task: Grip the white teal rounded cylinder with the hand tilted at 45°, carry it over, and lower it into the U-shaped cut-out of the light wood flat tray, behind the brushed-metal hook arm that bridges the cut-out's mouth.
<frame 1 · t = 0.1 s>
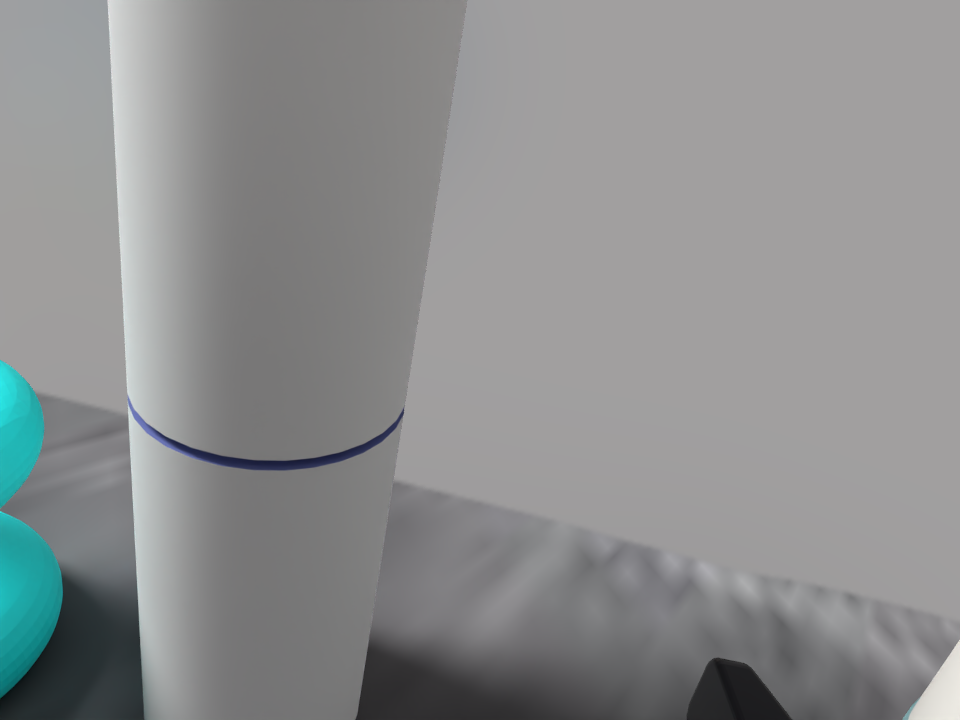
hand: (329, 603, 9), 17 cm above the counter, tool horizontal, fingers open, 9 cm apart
cylindrical container: (256, 699, 26), on the counter
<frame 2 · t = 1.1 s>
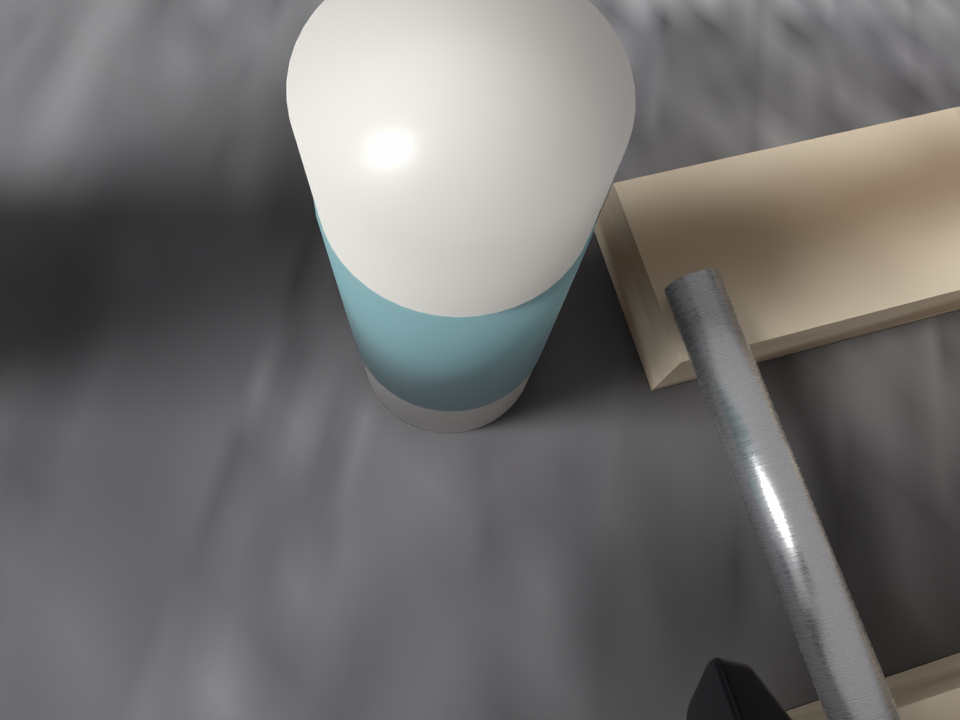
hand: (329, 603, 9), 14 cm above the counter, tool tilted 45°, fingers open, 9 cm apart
light wood flat tray: (909, 483, 23), on the counter
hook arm: (786, 524, 19), on the light wood flat tray, point 3 cm above the counter
white teal rounded cylinder: (448, 350, 24), on the counter
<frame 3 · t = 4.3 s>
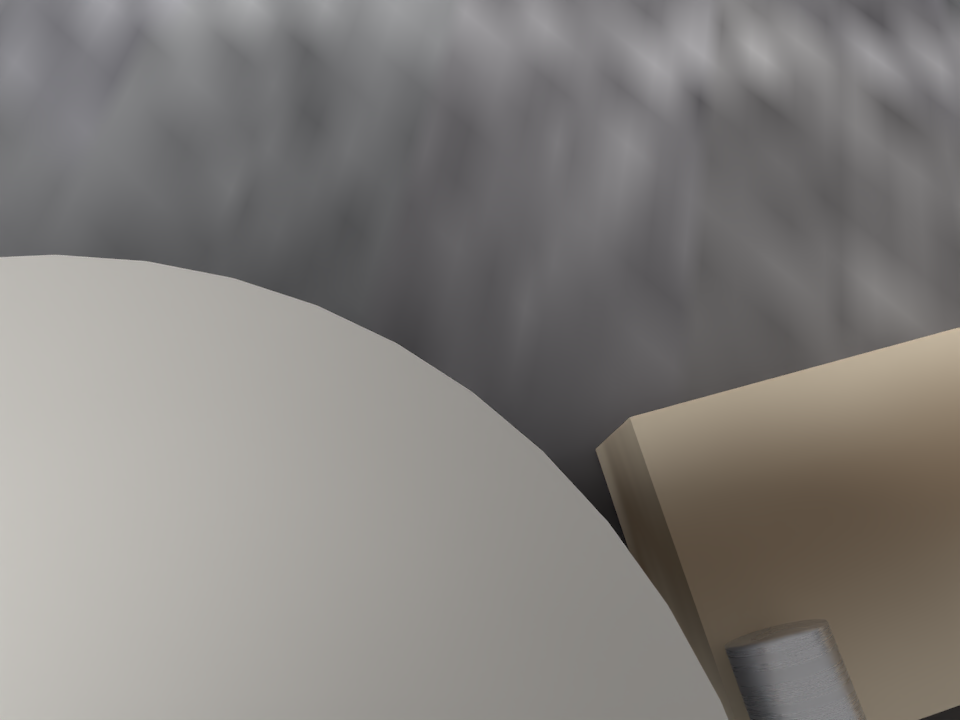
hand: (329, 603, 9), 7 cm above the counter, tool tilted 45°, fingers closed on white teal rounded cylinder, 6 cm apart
white teal rounded cylinder: (356, 673, 14), on the counter, touching gripper
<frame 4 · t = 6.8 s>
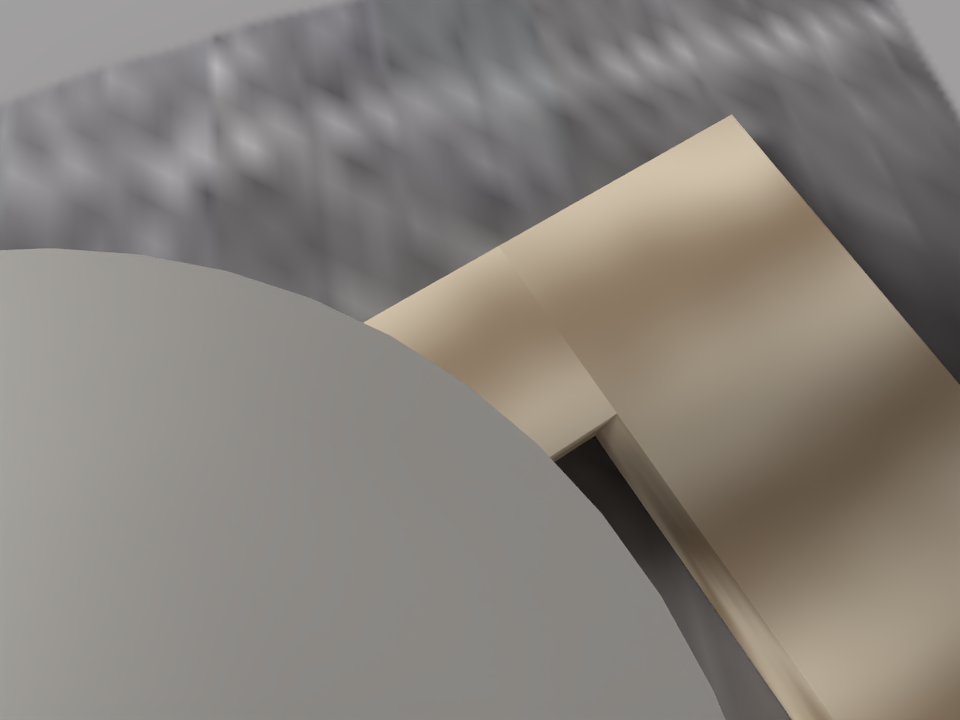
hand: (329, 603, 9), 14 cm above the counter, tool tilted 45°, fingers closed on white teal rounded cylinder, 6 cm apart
light wood flat tray: (555, 672, 21), on the counter
white teal rounded cylinder: (355, 672, 15), point 7 cm above the counter, touching gripper
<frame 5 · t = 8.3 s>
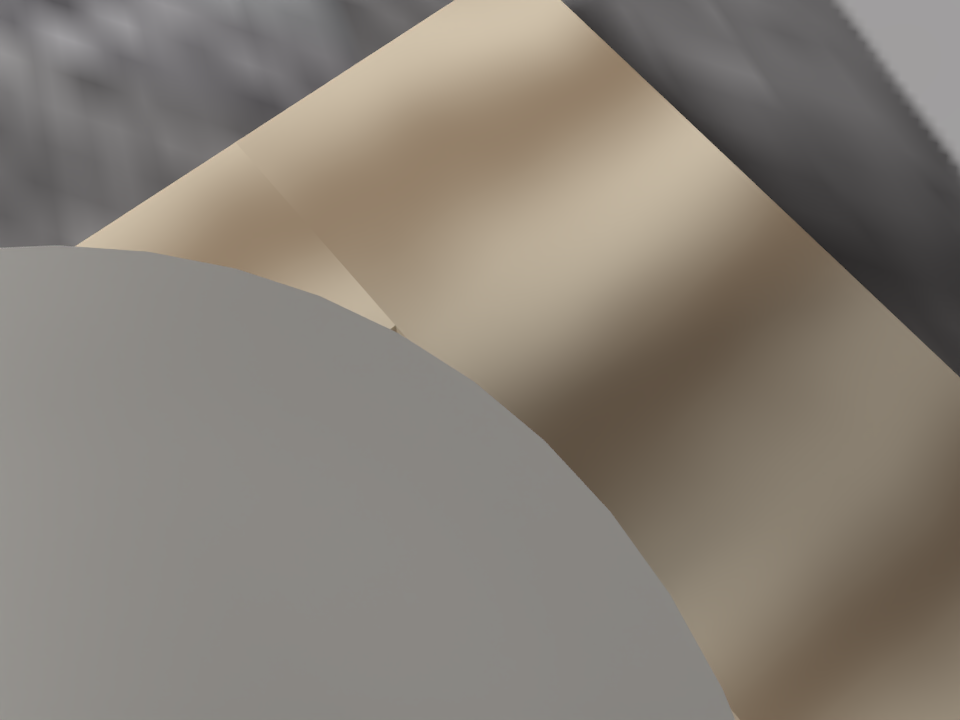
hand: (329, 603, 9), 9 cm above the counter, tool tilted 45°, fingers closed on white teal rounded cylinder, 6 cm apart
light wood flat tray: (369, 656, 17), on the counter
white teal rounded cylinder: (356, 671, 15), point 3 cm above the counter, touching gripper
when the fingers open (8 cm above the counter, at t = 9.4 s): white teal rounded cylinder drops 1 cm, resting in light wood flat tray.
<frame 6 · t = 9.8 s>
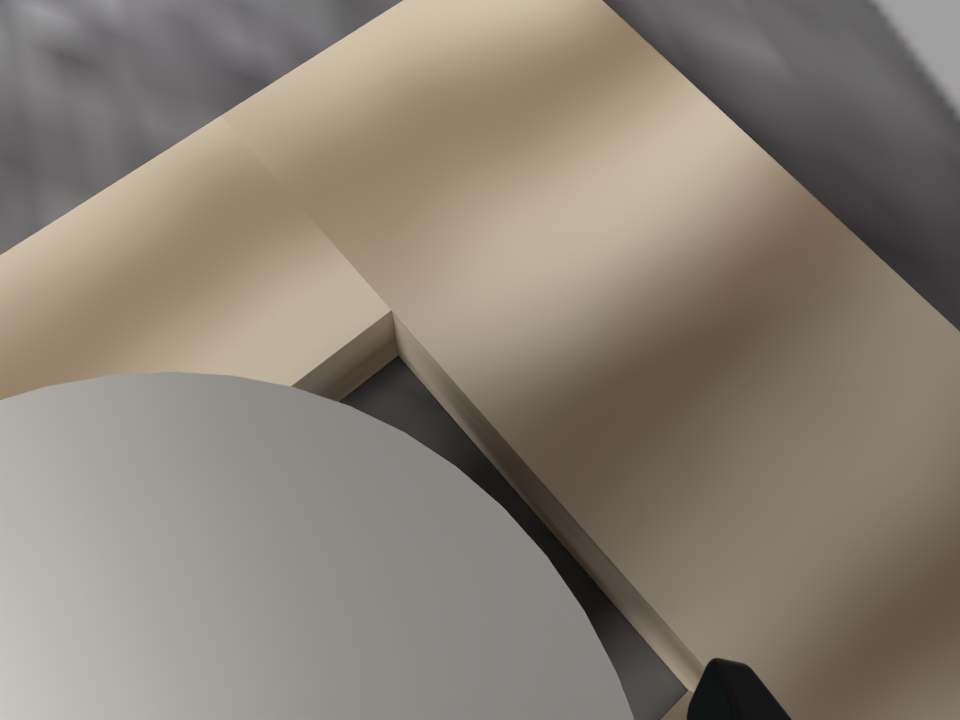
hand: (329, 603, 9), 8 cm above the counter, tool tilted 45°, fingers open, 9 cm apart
light wood flat tray: (363, 666, 16), on the counter
white teal rounded cylinder: (363, 668, 16), resting in light wood flat tray
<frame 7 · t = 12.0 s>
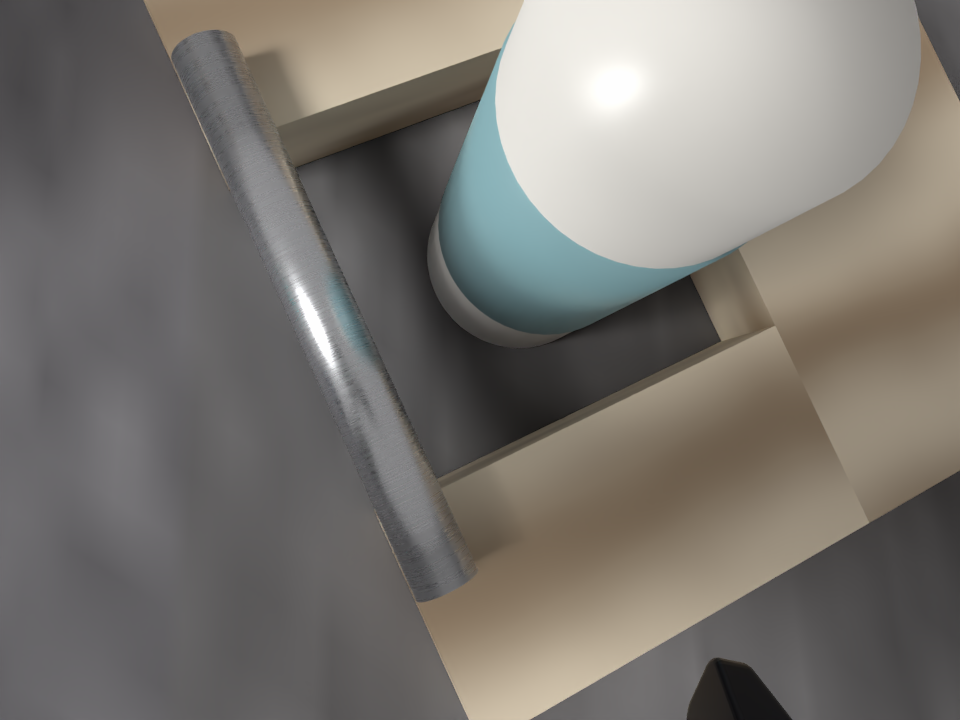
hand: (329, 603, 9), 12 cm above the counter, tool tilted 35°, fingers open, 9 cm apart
light wood flat tray: (516, 257, 23), on the counter
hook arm: (324, 314, 18), on the light wood flat tray, point 3 cm above the counter
white teal rounded cylinder: (516, 259, 23), resting in light wood flat tray
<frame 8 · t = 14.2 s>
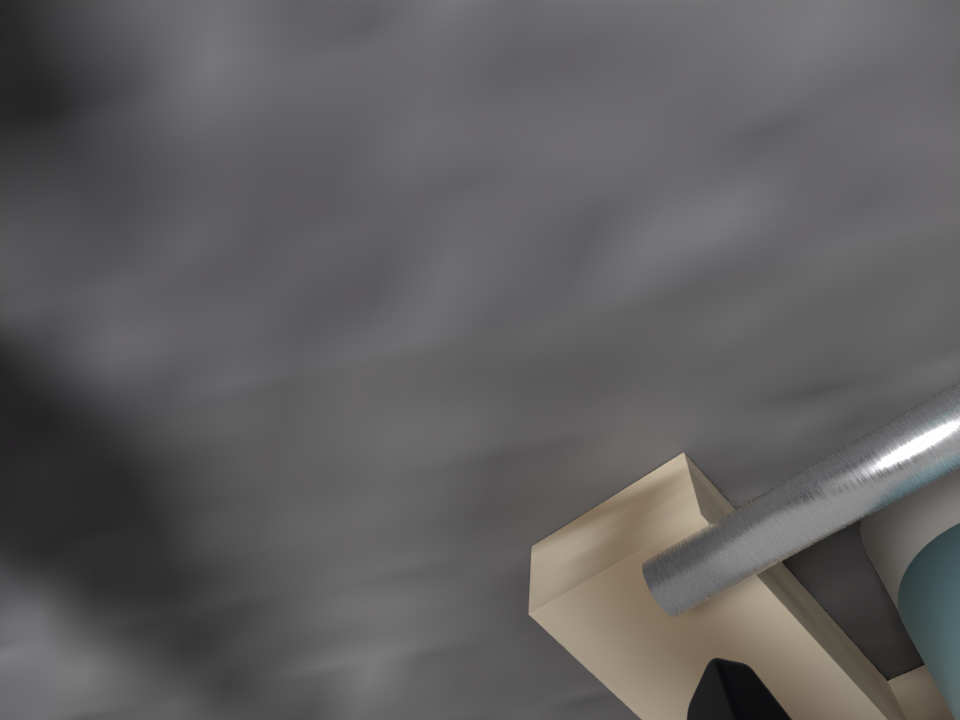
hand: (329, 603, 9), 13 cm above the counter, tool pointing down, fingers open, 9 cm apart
light wood flat tray: (957, 518, 22), on the counter
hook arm: (907, 453, 17), on the light wood flat tray, point 3 cm above the counter
white teal rounded cylinder: (956, 518, 22), resting in light wood flat tray
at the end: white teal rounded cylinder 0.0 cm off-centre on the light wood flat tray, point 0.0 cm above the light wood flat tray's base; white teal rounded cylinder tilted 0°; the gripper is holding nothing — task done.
